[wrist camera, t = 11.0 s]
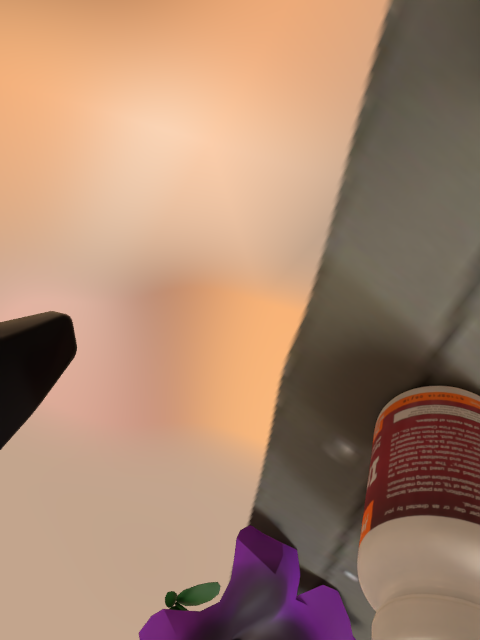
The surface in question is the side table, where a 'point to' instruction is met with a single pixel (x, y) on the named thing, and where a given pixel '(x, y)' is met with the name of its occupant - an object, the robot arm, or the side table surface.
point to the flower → (254, 601)
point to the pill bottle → (424, 517)
